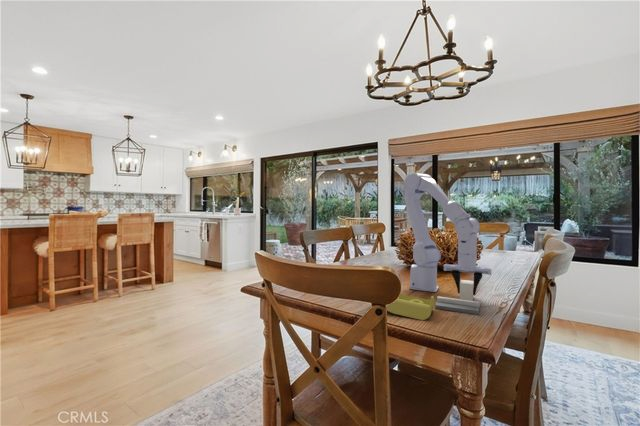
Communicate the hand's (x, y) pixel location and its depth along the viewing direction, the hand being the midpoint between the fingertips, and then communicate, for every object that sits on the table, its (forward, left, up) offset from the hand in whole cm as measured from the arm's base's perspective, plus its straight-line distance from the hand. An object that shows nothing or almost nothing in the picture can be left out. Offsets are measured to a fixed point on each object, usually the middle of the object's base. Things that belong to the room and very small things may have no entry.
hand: (466, 293), depth 106 cm
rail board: (-2, -11, -2) cm, 11 cm away
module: (0, 0, -2) cm, 2 cm away
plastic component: (-17, -22, -2) cm, 28 cm away
